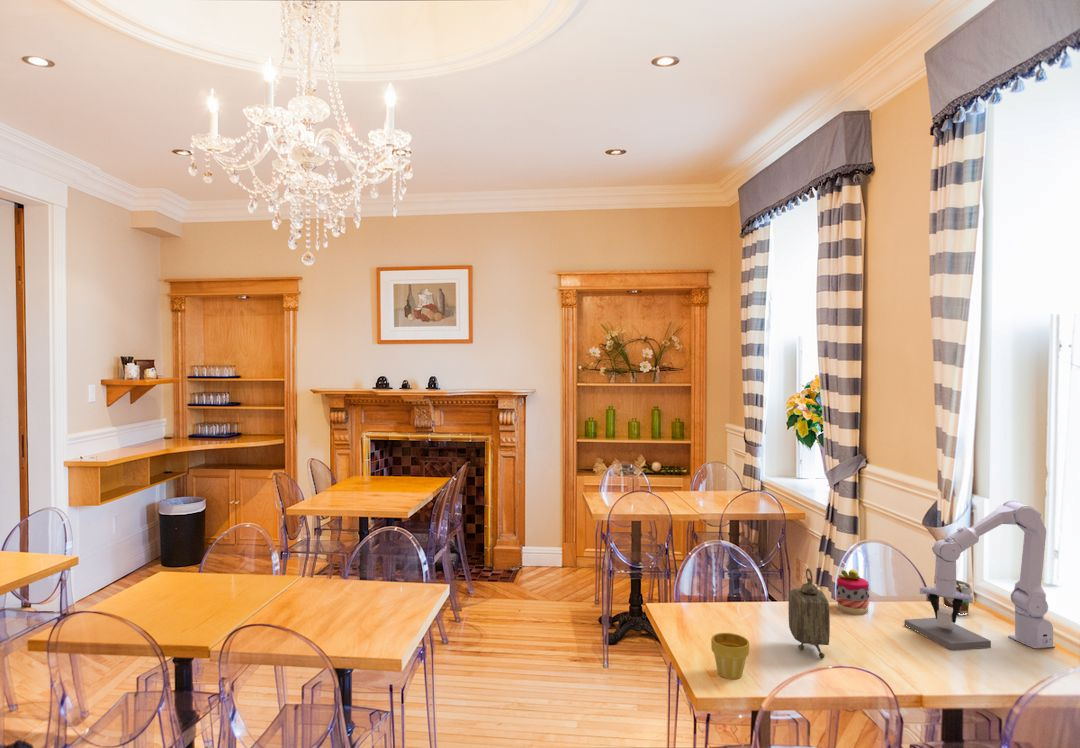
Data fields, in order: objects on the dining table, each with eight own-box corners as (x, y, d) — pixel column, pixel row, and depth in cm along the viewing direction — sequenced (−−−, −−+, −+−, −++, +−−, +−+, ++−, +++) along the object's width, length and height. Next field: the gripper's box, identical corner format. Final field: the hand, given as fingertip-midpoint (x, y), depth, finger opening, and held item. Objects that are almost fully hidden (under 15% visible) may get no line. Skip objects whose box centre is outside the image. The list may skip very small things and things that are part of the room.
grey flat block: (990, 647, 200) (990, 640, 200) (951, 650, 198) (951, 643, 198) (940, 623, 220) (940, 617, 220) (904, 625, 218) (904, 619, 218)
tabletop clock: (829, 661, 190) (829, 577, 190) (797, 659, 191) (797, 575, 192) (817, 642, 204) (817, 563, 204) (787, 639, 206) (787, 561, 206)
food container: (980, 617, 225) (980, 589, 226) (962, 617, 226) (962, 588, 226) (958, 605, 238) (958, 578, 238) (941, 604, 238) (941, 577, 238)
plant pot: (755, 682, 177) (755, 646, 177) (718, 683, 176) (718, 647, 176) (740, 665, 187) (740, 631, 187) (706, 666, 186) (706, 632, 186)
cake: (836, 603, 239) (837, 563, 239) (868, 607, 235) (868, 566, 235) (836, 612, 230) (836, 570, 230) (869, 617, 225) (869, 574, 225)
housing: (951, 629, 205) (951, 614, 205) (937, 626, 208) (937, 611, 208) (955, 622, 211) (955, 607, 211) (940, 619, 214) (940, 604, 214)
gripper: (973, 579, 208) (974, 621, 208) (922, 571, 217) (922, 611, 217) (971, 585, 202) (971, 628, 202) (918, 575, 212) (918, 617, 211)
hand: (945, 619), depth 209 cm, fingers closed on housing, 4 cm apart
